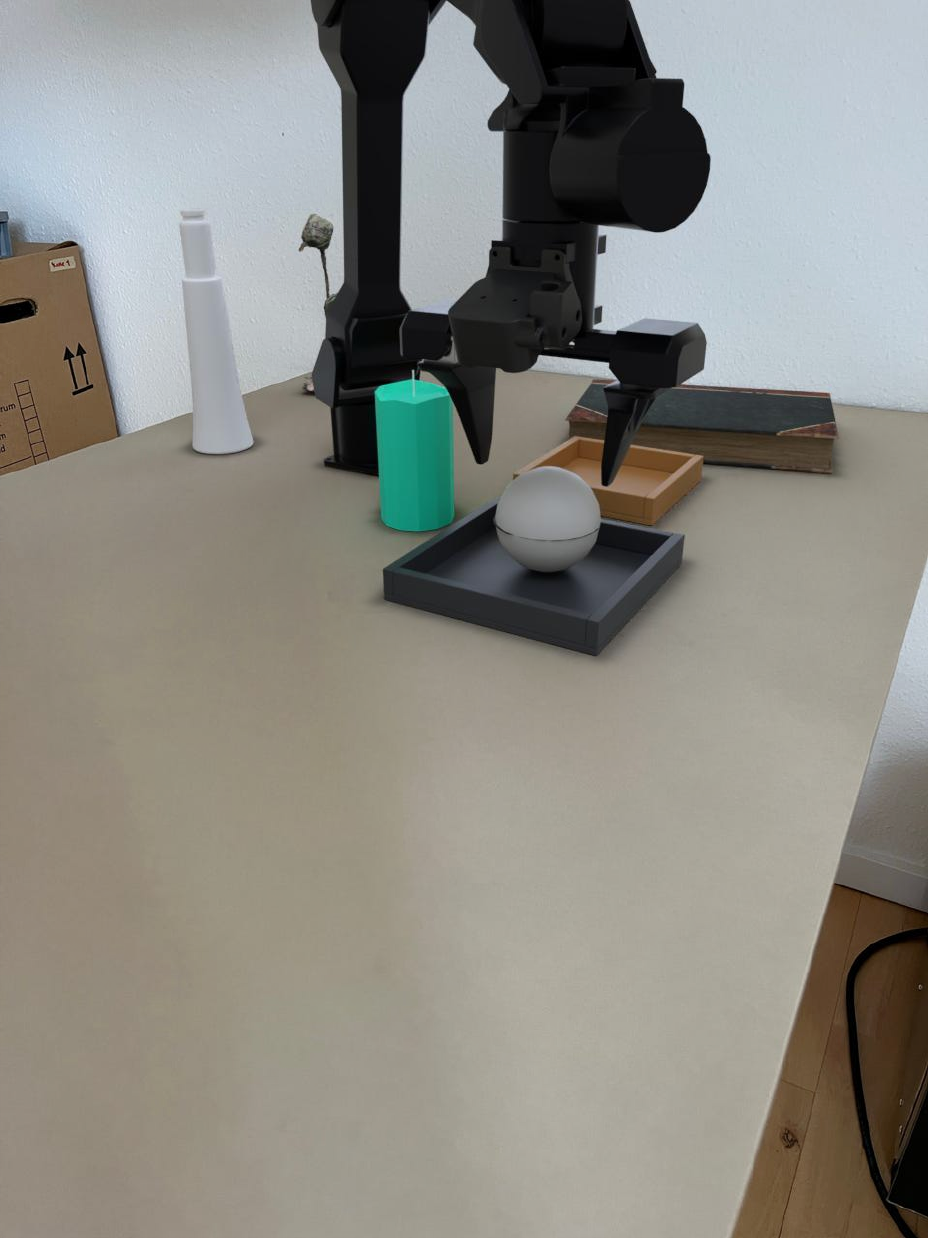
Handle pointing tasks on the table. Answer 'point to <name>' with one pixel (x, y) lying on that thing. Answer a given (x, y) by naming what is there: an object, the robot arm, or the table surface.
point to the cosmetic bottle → (210, 346)
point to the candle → (415, 455)
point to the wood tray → (628, 477)
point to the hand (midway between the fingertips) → (542, 473)
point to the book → (726, 425)
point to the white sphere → (547, 519)
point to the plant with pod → (320, 237)
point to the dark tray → (535, 581)
